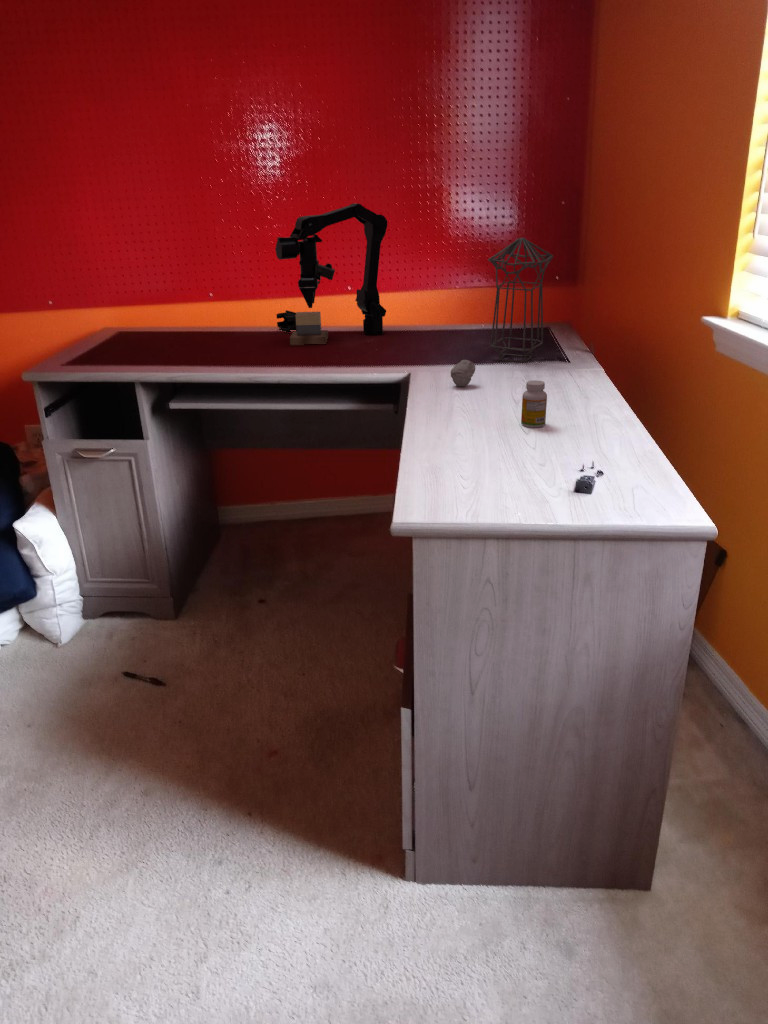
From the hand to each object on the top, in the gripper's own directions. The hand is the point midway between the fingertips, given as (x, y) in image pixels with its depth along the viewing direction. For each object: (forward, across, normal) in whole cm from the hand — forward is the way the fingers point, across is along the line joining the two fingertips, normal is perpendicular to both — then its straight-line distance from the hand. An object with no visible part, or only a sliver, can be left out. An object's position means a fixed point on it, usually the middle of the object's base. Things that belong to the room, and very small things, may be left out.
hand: (311, 305), depth 265 cm
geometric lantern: (+12, -36, -64) cm, 74 cm away
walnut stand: (+12, -1, +1) cm, 12 cm away
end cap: (+12, +19, +9) cm, 24 cm away
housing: (+9, -1, +1) cm, 9 cm away
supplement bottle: (+12, -101, -57) cm, 116 cm away
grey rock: (+12, -66, -44) cm, 80 cm away
